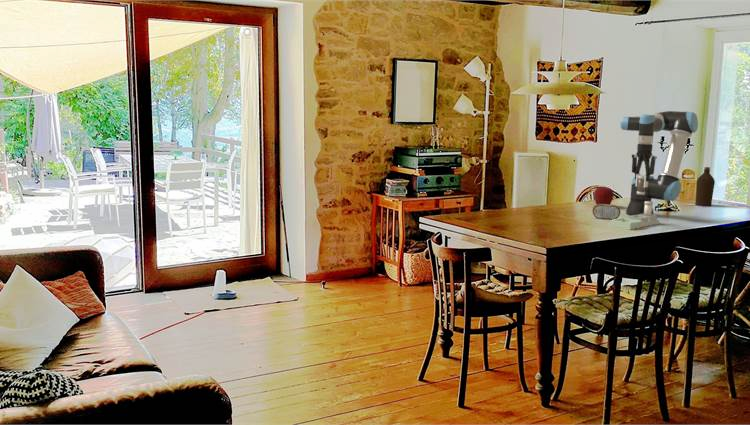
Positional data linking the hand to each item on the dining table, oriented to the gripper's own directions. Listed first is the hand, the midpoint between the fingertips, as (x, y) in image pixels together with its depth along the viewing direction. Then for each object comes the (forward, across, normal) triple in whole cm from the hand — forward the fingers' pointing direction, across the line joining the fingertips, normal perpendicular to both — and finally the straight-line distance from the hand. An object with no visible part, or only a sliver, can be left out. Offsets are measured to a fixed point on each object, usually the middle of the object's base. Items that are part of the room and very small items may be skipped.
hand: (641, 186), depth 370 cm
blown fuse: (+4, 0, 0) cm, 4 cm away
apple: (+21, -46, +36) cm, 62 cm away
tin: (+21, -20, 0) cm, 29 cm away
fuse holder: (+21, 0, +4) cm, 21 cm away
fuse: (+19, 0, +9) cm, 21 cm away
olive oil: (+22, -14, +101) cm, 104 cm away
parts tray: (+21, 0, -12) cm, 24 cm away
